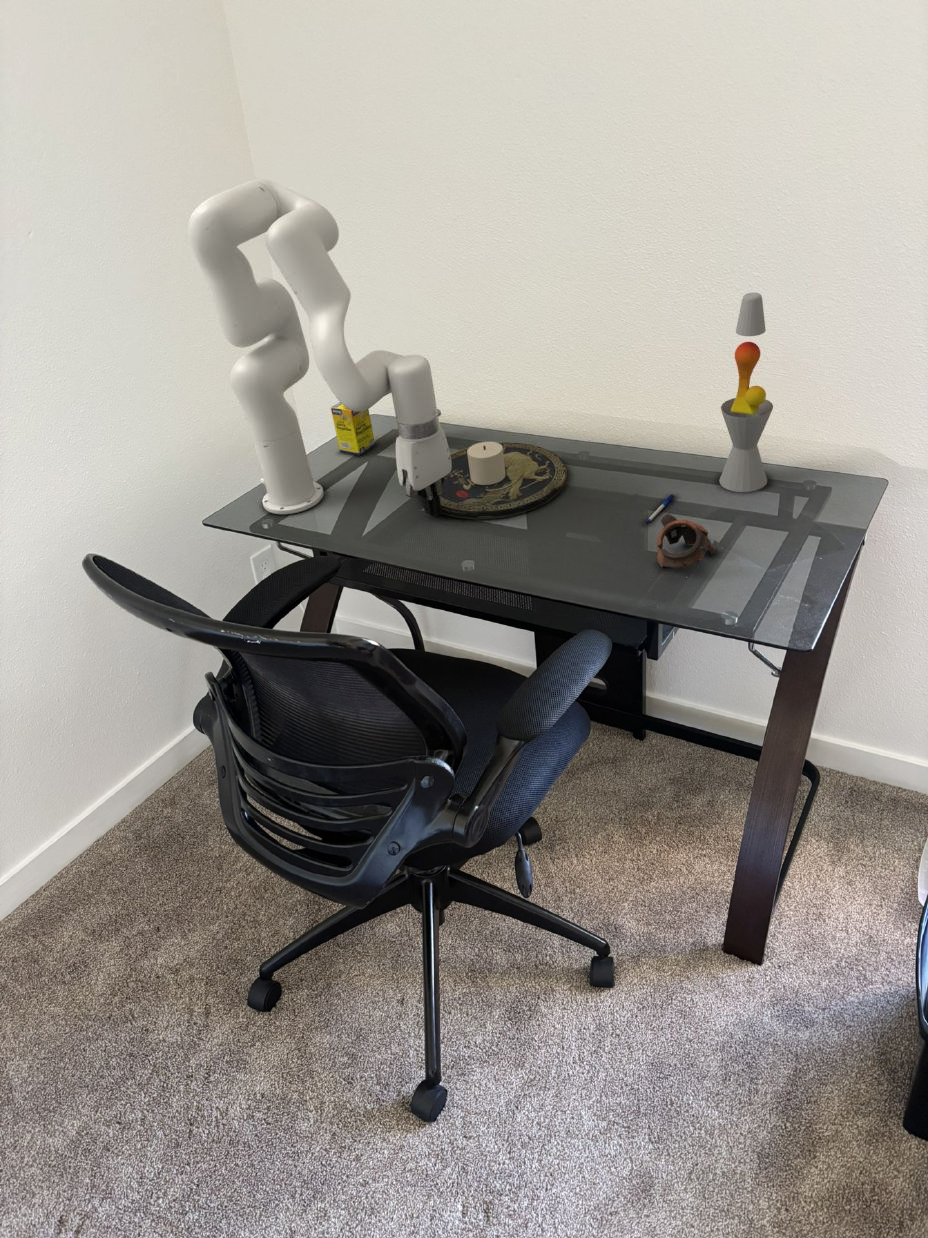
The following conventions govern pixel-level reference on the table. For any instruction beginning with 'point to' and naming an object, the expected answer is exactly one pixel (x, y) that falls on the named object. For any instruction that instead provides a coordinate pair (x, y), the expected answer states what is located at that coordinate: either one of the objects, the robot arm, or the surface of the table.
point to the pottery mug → (690, 535)
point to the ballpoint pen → (660, 508)
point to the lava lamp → (746, 406)
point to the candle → (486, 463)
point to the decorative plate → (504, 484)
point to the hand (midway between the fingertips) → (433, 513)
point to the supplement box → (352, 430)
